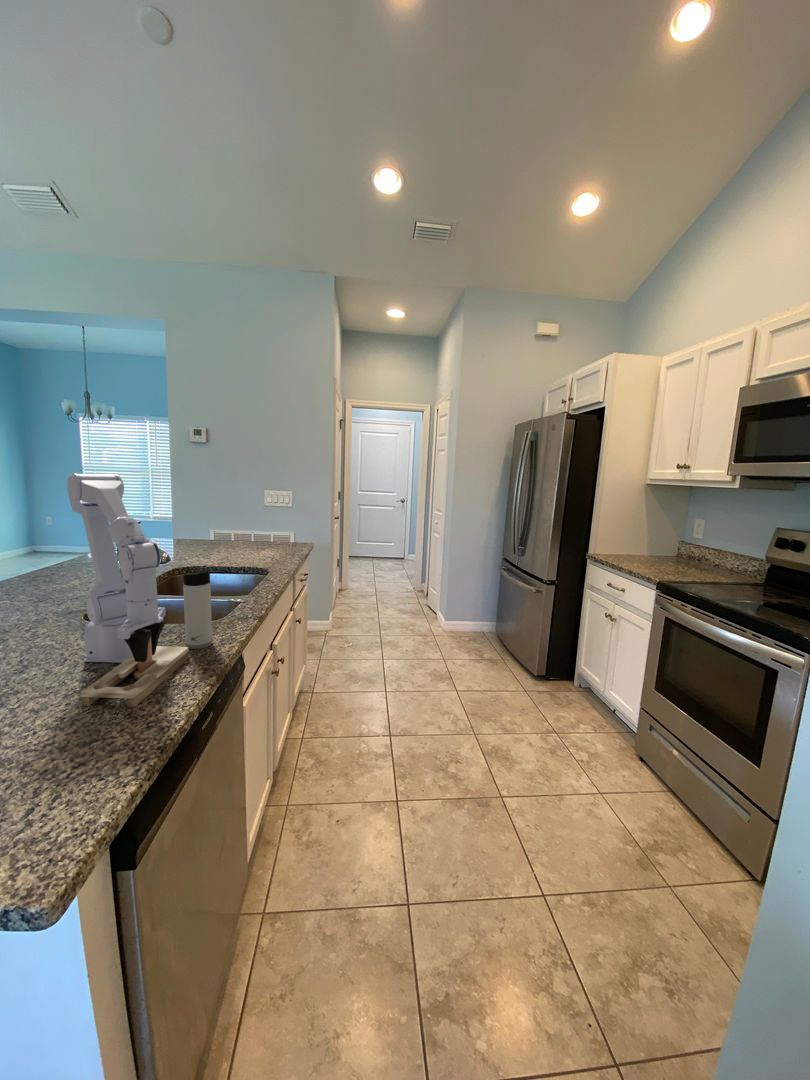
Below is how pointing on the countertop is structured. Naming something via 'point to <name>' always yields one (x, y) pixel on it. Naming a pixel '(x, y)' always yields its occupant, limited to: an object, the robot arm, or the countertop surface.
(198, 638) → the travel mug
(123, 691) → the keyhole plate
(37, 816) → the countertop surface
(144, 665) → the terracotta peg
